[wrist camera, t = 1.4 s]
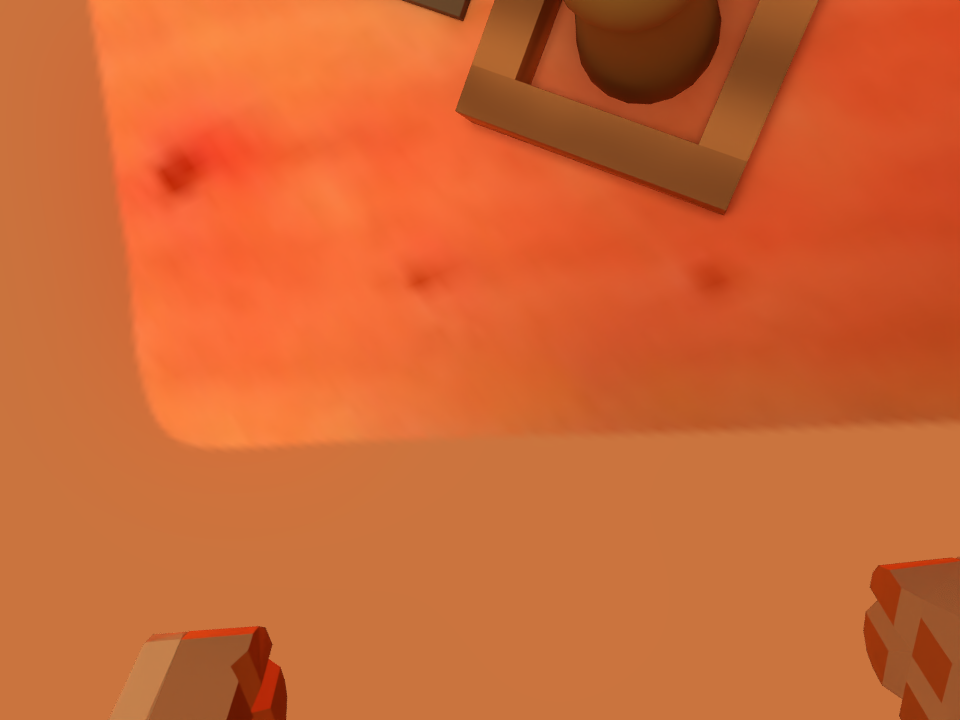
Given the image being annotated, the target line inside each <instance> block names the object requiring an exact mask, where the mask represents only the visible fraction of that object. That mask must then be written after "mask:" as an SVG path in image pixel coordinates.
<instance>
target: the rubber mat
mask: <svg viewBox="0 0 960 720" xmlns="http://www.w3.org/2000/svg"><path fill="white" fill-rule="evenodd" d="M403 1H406V2H409V3H412V4H415V5H418V6H421V7H424V8H426V9H429V10H432V11H435V12H438V13H441V14H444V15H447V16H450V17H453V18H456V19H459V20H462V21H463V20H464V17H465V14H466V11H467V8H468V5H469V2H470V0H403Z"/></svg>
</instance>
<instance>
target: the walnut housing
mask: <svg viewBox="0 0 960 720" xmlns="http://www.w3.org/2000/svg"><path fill="white" fill-rule="evenodd" d="M561 1H562V0H495V1H494V4H493V7H492V9H491V12H490V15H489V18H488V21H487V23H486V26H485V29H484V32H483V35H482V37H481V40H480V43H479V46H478V49H477V52H476V54H475V57H474V60H473V63H472V66H471V68H470V71H469V74H468V77H467V80H466V82H465V85H464V88H463V91H462V94H461V96H460V99H459V102H458V105H457V108H456V110H455V111H456V112H458V113H459V114H461V115H462V116H464V117H465V118H466V119H468V120H469V121H471V122H473V123H476V124H478V125H481V126H484V127H487V128H489V129H492V130H495V131H497V132H500V133H503V134H506V135H508V136H511V137H514V138H516V139H519V140H522V141H524V142H527V143H530V144H533V145H535V146H538V147H541V148H543V149H546V150H549V151H552V152H554V153H557V154H560V155H562V156H565V157H568V158H570V159H573V160H576V161H579V162H581V163H584V164H587V165H589V166H592V167H595V168H598V169H600V170H603V171H606V172H608V173H611V174H614V175H616V176H619V177H622V178H625V179H627V180H630V181H633V182H635V183H638V184H641V185H643V186H646V187H649V188H652V189H654V190H657V191H660V192H662V193H665V194H668V195H671V196H673V197H676V198H679V199H681V200H684V201H687V202H689V203H692V204H695V205H698V206H700V207H703V208H706V209H708V210H711V211H714V212H717V213H719V214H722V215H724V213H725V211H726V209H727V207H728V205H729V203H730V200H731V198H732V196H733V193H734V191H735V189H736V187H737V184H738V182H739V180H740V178H741V175H742V173H743V171H744V168H745V166H746V164H747V162H748V159H749V157H750V155H751V153H752V150H753V148H754V146H755V143H756V141H757V139H758V137H759V134H760V132H761V130H762V128H763V125H764V123H765V121H766V118H767V116H768V114H769V112H770V109H771V107H772V105H773V103H774V100H775V98H776V96H777V93H778V91H779V89H780V87H781V84H782V82H783V80H784V78H785V75H786V73H787V71H788V68H789V66H790V64H791V62H792V59H793V57H794V55H795V53H796V50H797V48H798V46H799V43H800V41H801V39H802V37H803V34H804V32H805V30H806V28H807V25H808V23H809V21H810V18H811V16H812V14H813V12H814V9H815V7H816V5H817V3H818V0H760V1H759V3H758V6H757V8H756V10H755V13H754V15H753V17H752V20H751V22H750V24H749V27H748V29H747V31H746V34H745V36H744V38H743V41H742V43H741V46H740V48H739V50H738V53H737V55H736V57H735V60H734V62H733V64H732V67H731V69H730V71H729V74H728V76H727V79H726V81H725V83H724V86H723V88H722V90H721V93H720V95H719V97H718V100H717V102H716V104H715V107H714V109H713V111H712V114H711V116H710V119H709V121H708V123H707V126H706V128H705V130H704V133H703V135H702V137H701V140H700V142H699V144H696V143H693V142H690V141H687V140H684V139H682V138H679V137H676V136H673V135H670V134H667V133H665V132H662V131H659V130H656V129H653V128H650V127H648V126H645V125H642V124H639V123H636V122H633V121H631V120H628V119H625V118H622V117H619V116H616V115H614V114H611V113H608V112H605V111H602V110H599V109H597V108H594V107H591V106H588V105H585V104H582V103H580V102H577V101H574V100H571V99H568V98H565V97H563V96H560V95H557V94H554V93H551V92H548V91H546V90H543V89H540V88H537V87H534V86H531V85H530V84H531V82H532V79H533V76H534V74H535V71H536V68H537V66H538V63H539V60H540V58H541V55H542V52H543V50H544V47H545V44H546V41H547V39H548V36H549V33H550V31H551V28H552V25H553V23H554V20H555V17H556V15H557V12H558V9H559V7H560V4H561Z"/></svg>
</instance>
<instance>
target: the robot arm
mask: <svg viewBox="0 0 960 720" xmlns="http://www.w3.org/2000/svg"><path fill="white" fill-rule="evenodd" d="M870 588H871V590H872V591H873V593H874V595H875V596H876V598H877V601H876V602H875V603H874V604H873V605H872V606H871V607H870V608H869V609H868V610H867V611H866V614H865V622H864V630H863V631H864V637H865V643H866V650H867V653H868V656H869V659H870V661H871V664H872V667H873V669H874V671H875V673H876V675H877V677H878V679H879V680H880V682H881V684H882V686H884V687H886V688H887V689H888V690H890V691H891V692H893V693H894V694H896V695H897V696H899V697H900V698H902V704H901V709H900V714H899V717H900V719H901V720H960V557H957V558H943V559H933V560H924V561H915V562H906V563H896V564H887V565H879V566H878V567H877V568H876V569H875V571H874V572H873V574H872V579H871V585H870ZM271 648H272V642H271V640H270V637H269V635H268V632H267V630H266V628H265V627H260V626H256V627H241V628H228V629H213V630H199V631H189V632H179V633H166V634H153V635H152V636H151V637H150V638H149V639H148V640H147V641H146V642H145V643H144V644H143V646H142V648H141V650H140V652H139V655H138V657H137V659H136V661H135V663H134V666H133V668H132V670H131V672H130V674H129V676H128V678H127V680H126V683H125V685H124V687H123V689H122V691H121V694H120V696H119V698H118V700H117V702H116V705H115V706H114V709H113V711H112V713H111V715H110V717H109V720H286V712H287V692H286V685H285V679H284V676H283V673H282V670H281V667H279V666H278V665H277V664H275V663H274V662H272V661H271V660H269V655H270V651H271Z"/></svg>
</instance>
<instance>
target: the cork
mask: <svg viewBox="0 0 960 720" xmlns="http://www.w3.org/2000/svg"><path fill="white" fill-rule="evenodd" d="M564 2H565V3H566V5H567V7H568V8H569V9H570V10H572V11H573V12H574V13H575V21H576V41H577V47H578V51H579V56H580V61H581V64H582V66H583V68H584V69H585V71H586V73H587V74H588V76H589V78H590V80H591V81H592V82H593V83H594V84H595V85H596V86H597V87H599V88H600V89H601V90H602V91H603V92H604V93H606V94H607V95H608V96H610V97H613V98H616V99H618V100H621V101H624V102H626V103H637V104H652V103H655V102H659V101H662V100H666V99H669V98H673V97H674V96H676V95H677V94H679V93H680V92H682V91H684V90H685V89H687V88H688V87H690V86H691V85H693V84H694V82H695V81H696V80H697V79H698V78H699V77H700V75H701V74H702V73H703V72H704V71H705V70H706V68H707V67H708V66H709V64H710V62H711V59H712V57H713V55H714V53H715V50H716V48H717V46H718V43H719V35H720V27H721V16H720V11H719V6H718V1H717V0H564Z"/></svg>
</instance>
